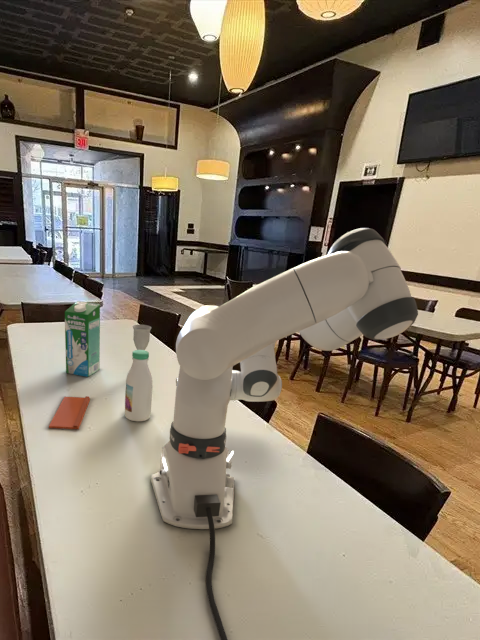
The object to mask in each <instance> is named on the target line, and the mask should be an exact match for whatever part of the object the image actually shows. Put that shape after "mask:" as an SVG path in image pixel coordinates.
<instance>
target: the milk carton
mask: <svg viewBox="0 0 480 640" xmlns="http://www.w3.org/2000/svg"><path fill="white" fill-rule="evenodd" d="M100 330H101V304H100V303H94V302H88V301H80V300H77V301H76V302H75V303H73V304H72V305H71V306H70V307H69V308H67V309H66V310H64V340H65V341H64V343H65V346H64V347H65V373H66V374H70V375H76V376H80V377H86V378H89V377H90V376H92V375H93V374H95V373H96V372H98V371H100V367H101V366H100V365H101V364H100V362H101V361H100V360H101V359H100V357H101V356H100V355H101V352H100V351H101V348H100V347H101V346H100V345H101V343H100V342H101V331H100Z"/></svg>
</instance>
